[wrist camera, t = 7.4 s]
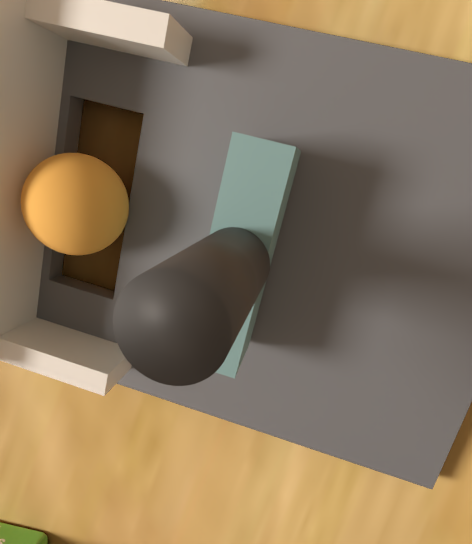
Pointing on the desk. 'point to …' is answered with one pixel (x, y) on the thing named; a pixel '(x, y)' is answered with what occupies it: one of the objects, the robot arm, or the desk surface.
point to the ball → (74, 203)
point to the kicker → (211, 275)
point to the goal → (41, 145)
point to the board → (304, 228)
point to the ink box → (20, 535)
